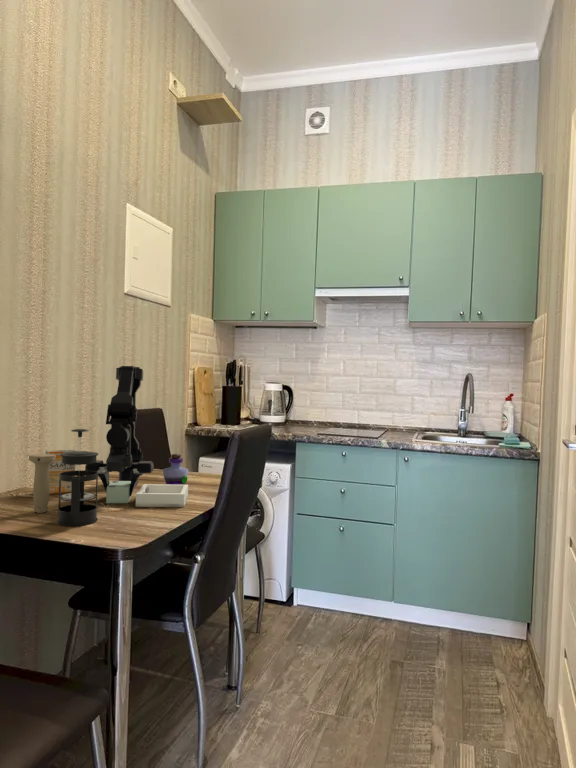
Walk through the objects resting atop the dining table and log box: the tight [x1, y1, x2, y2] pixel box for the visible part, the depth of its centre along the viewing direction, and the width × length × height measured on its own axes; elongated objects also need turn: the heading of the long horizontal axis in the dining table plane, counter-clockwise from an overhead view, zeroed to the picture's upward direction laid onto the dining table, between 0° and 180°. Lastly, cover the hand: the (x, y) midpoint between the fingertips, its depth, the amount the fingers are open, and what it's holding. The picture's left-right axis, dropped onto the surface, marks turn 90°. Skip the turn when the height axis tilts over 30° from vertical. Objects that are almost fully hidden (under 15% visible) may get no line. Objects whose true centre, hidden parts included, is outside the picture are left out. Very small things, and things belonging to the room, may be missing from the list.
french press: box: [56, 428, 99, 527], centre depth 137 cm, size 12×9×23 cm
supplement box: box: [45, 449, 76, 495], centre depth 171 cm, size 8×5×13 cm, turn 123°
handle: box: [28, 453, 56, 514], centre depth 145 cm, size 5×6×15 cm
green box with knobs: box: [105, 480, 132, 504], centre depth 163 cm, size 10×6×5 cm, turn 10°
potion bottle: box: [162, 453, 190, 485], centre depth 178 cm, size 9×9×12 cm
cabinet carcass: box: [135, 483, 189, 508], centre depth 162 cm, size 14×13×4 cm
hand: (119, 495), depth 163 cm, fingers closed on green box with knobs, 6 cm apart
